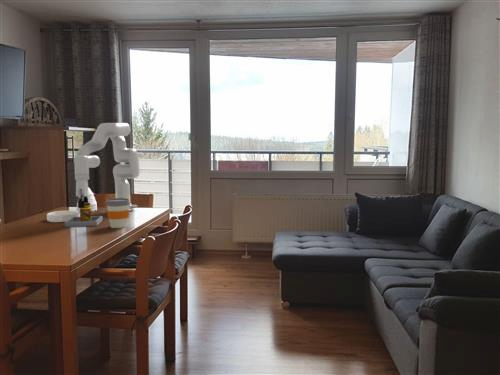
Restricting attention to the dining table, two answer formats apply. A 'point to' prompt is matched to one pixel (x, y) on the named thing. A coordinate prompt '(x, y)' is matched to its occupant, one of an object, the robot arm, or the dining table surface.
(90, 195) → the honey pot
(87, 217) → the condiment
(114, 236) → the dining table surface
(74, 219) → the square frame
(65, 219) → the bowl
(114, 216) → the reusable coffee cup
